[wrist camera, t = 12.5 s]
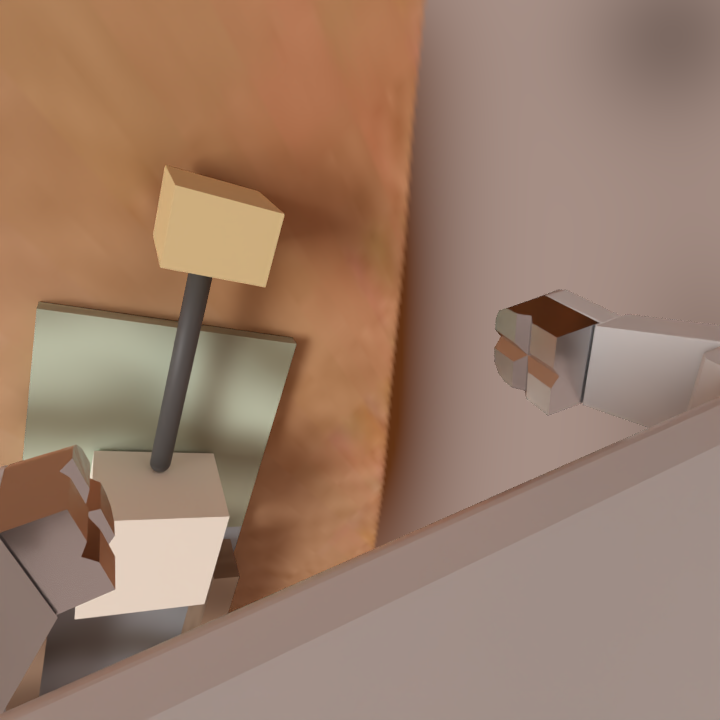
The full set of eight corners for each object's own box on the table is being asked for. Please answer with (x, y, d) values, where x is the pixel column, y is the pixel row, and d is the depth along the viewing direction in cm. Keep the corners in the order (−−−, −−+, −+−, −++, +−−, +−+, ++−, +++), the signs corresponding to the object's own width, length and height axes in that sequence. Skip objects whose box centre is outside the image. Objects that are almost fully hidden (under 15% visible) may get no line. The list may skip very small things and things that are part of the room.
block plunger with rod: (192, 534, 31) (204, 604, 27) (80, 540, 28) (74, 619, 24) (279, 197, 23) (313, 224, 19) (139, 157, 21) (144, 180, 17)
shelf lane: (181, 712, 40) (186, 765, 37) (-4, 751, 34) (-15, 818, 31) (292, 337, 28) (313, 370, 25) (38, 301, 22) (27, 338, 19)
